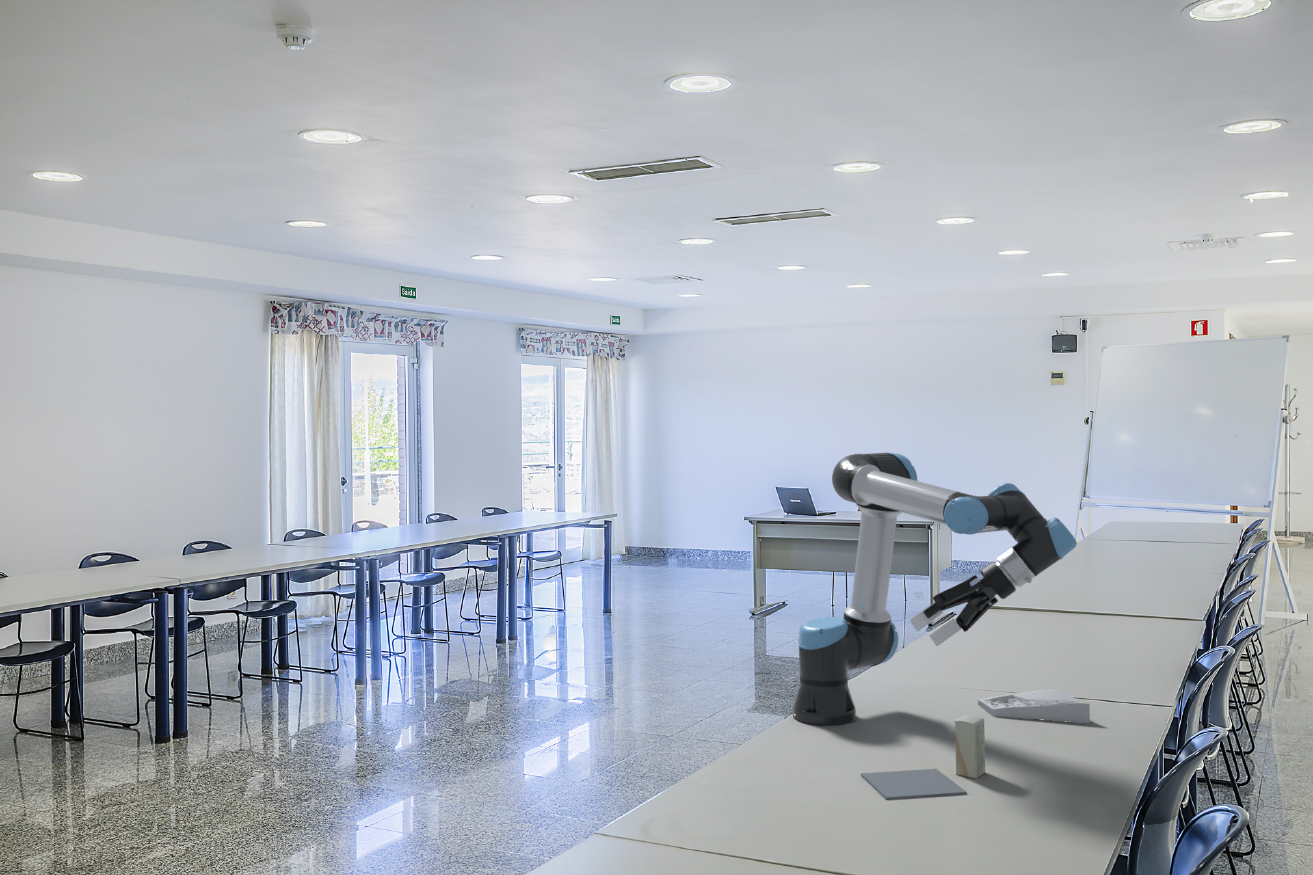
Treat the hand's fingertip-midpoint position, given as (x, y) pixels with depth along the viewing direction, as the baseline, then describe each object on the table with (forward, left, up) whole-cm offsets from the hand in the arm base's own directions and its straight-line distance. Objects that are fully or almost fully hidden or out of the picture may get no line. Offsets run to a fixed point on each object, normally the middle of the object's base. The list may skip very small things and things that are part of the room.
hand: (923, 633), depth 217 cm
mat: (+16, -10, -26) cm, 32 cm away
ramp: (-27, +39, -27) cm, 54 cm away
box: (+12, +4, -26) cm, 29 cm away
